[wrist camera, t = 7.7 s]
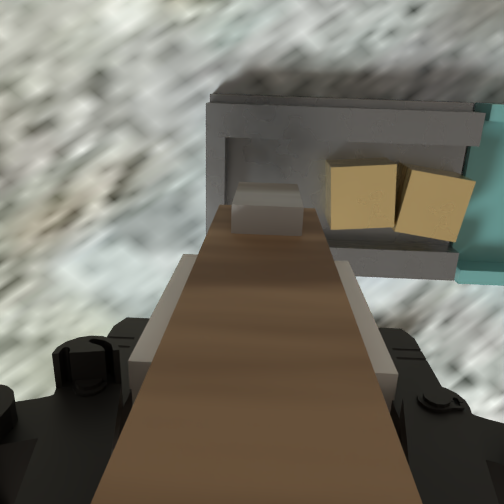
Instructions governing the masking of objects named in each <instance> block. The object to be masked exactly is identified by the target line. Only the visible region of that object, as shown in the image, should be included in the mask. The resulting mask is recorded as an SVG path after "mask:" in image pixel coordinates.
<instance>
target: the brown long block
mask: <svg viewBox="0 0 504 504" xmlns="http://www.w3.org/2000/svg"><path fill="white" fill-rule="evenodd" d="M91 504H423V503H422V501H421V498H420V495H419V493H418V490H417V487H416V484H415V482H414V479H413V476H412V473H411V471H410V468H409V465H408V462H407V460H406V457H405V454H404V451H403V449H402V446H401V443H400V440H399V438H398V435H397V432H396V429H395V427H394V424H393V421H392V418H391V416H390V413H389V410H388V407H387V405H386V402H385V399H384V396H383V394H382V391H381V388H380V385H379V383H378V380H377V377H376V375H375V372H374V369H373V366H372V364H371V361H370V358H369V355H368V353H367V350H366V347H365V344H364V342H363V339H362V336H361V333H360V331H359V328H358V325H357V322H356V320H355V317H354V314H353V311H352V309H351V306H350V303H349V300H348V298H347V295H346V292H345V289H344V287H343V284H342V281H341V278H340V276H339V273H338V270H337V267H336V265H335V262H334V259H333V257H332V254H331V251H330V248H329V246H328V243H327V240H326V237H325V235H324V232H323V229H322V226H321V224H320V221H319V218H318V215H317V213H316V210H315V208H304V206H303V203H302V199H301V195H300V192H299V188H298V185H297V184H284V183H258V182H239V184H238V187H237V190H236V193H235V196H234V199H233V202H232V205H219V207H218V209H217V212H216V214H215V216H214V219H213V221H212V223H211V226H210V228H209V230H208V233H207V235H206V237H205V240H204V242H203V244H202V247H201V249H200V251H199V254H198V256H197V258H196V260H195V263H194V265H193V267H192V270H191V272H190V274H189V277H188V279H187V281H186V284H185V286H184V288H183V291H182V293H181V295H180V298H179V300H178V302H177V304H176V307H175V309H174V311H173V314H172V316H171V318H170V321H169V323H168V325H167V328H166V330H165V332H164V335H163V337H162V339H161V342H160V344H159V346H158V349H157V351H156V353H155V355H154V358H153V360H152V362H151V365H150V367H149V369H148V372H147V374H146V376H145V379H144V381H143V383H142V386H141V388H140V390H139V393H138V395H137V397H136V399H135V402H134V404H133V406H132V409H131V411H130V413H129V416H128V418H127V420H126V423H125V425H124V427H123V430H122V432H121V434H120V437H119V439H118V441H117V444H116V446H115V448H114V450H113V453H112V455H111V457H110V460H109V462H108V464H107V467H106V469H105V471H104V474H103V476H102V478H101V481H100V483H99V485H98V488H97V490H96V492H95V494H94V497H93V499H92V501H91Z"/></svg>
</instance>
